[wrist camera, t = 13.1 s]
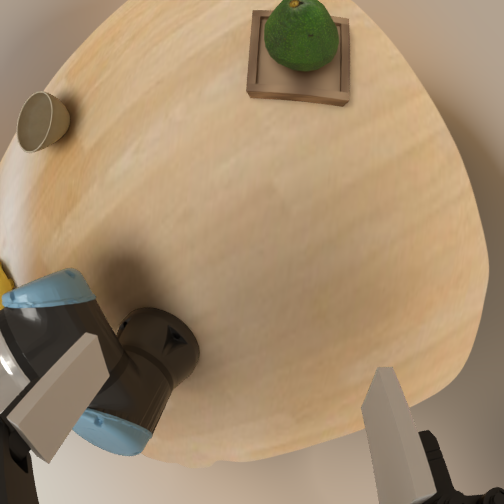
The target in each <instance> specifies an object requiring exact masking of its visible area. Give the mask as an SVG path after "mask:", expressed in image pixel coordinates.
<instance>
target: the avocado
mask: <svg viewBox="0 0 504 504" xmlns="http://www.w3.org/2000/svg"><path fill="white" fill-rule="evenodd" d="M264 41H265V47H266V49H267V51H268V53H269V55H270V57H271V58H273V59H274V60H275V61H276V62H277V63H278V64H281V65H283V66H285V67H287V68H290V69H292V70H296V71H306V72H307V71H312V70H318V69H319V68H321V67H323V66H325V65H326V64H328V63H330V62H331V61H332V59H333V58H334V56H335V55H336V53H337V49H338V44H339V35H338V30H337V27H336V25H335V23H334V21H333V20H332V18H331V16H330V14H329V13H328V11H327V10H326V8H325V6H324V5H323V4H322V3H320V2H319V1H318V0H283V1H282V2H281V3H280V4H279V5H278V6H277V7H276V8H275V10H274V11H273V12H272V13H271V15H270V16H269V18H268V20H267V21H266V23H265V28H264Z"/></svg>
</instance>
